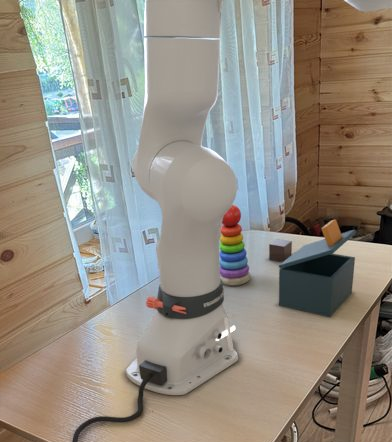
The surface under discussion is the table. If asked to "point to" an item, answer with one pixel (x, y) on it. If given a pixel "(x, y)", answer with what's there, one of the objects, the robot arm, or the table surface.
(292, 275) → the dark teal box
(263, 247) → the table surface
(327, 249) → the lid
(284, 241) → the block
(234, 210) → the stacking toy
